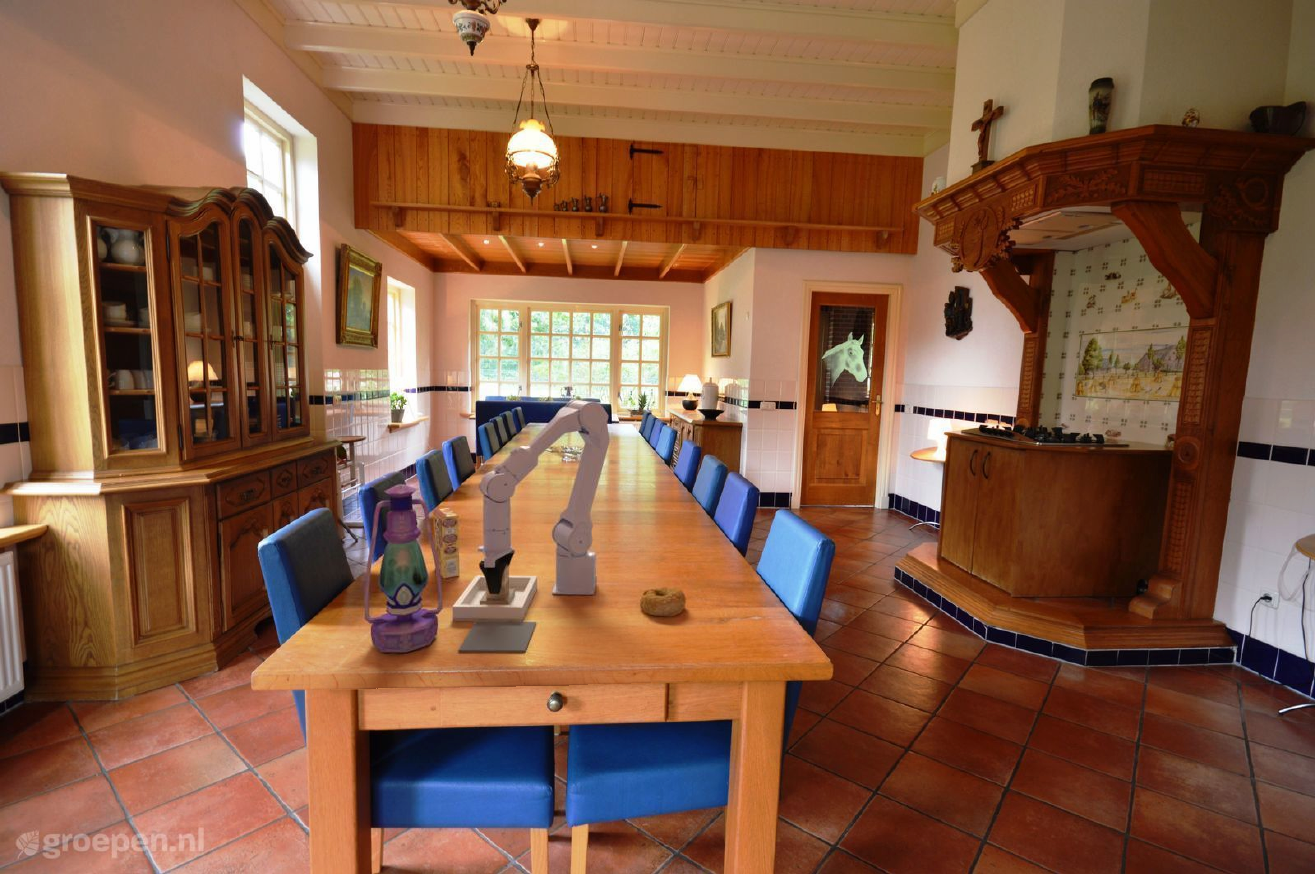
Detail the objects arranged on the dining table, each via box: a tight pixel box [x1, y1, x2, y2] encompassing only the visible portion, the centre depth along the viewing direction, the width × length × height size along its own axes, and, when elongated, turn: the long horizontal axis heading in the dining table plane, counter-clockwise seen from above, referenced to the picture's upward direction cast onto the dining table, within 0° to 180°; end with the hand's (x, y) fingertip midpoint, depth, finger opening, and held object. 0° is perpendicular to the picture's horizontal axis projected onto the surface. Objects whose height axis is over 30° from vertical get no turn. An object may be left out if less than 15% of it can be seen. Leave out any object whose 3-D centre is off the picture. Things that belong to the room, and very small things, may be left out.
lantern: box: [363, 483, 443, 654], centre depth 110 cm, size 13×12×30 cm
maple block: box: [486, 565, 510, 598], centre depth 129 cm, size 4×4×6 cm
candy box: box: [432, 507, 461, 579], centre depth 147 cm, size 9×4×15 cm, turn 33°
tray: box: [452, 574, 538, 622], centre depth 130 cm, size 14×18×3 cm
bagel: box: [639, 586, 687, 617], centre depth 129 cm, size 10×11×5 cm
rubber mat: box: [457, 621, 537, 654], centre depth 114 cm, size 12×12×1 cm
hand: (497, 588), depth 130 cm, fingers open, 5 cm apart
